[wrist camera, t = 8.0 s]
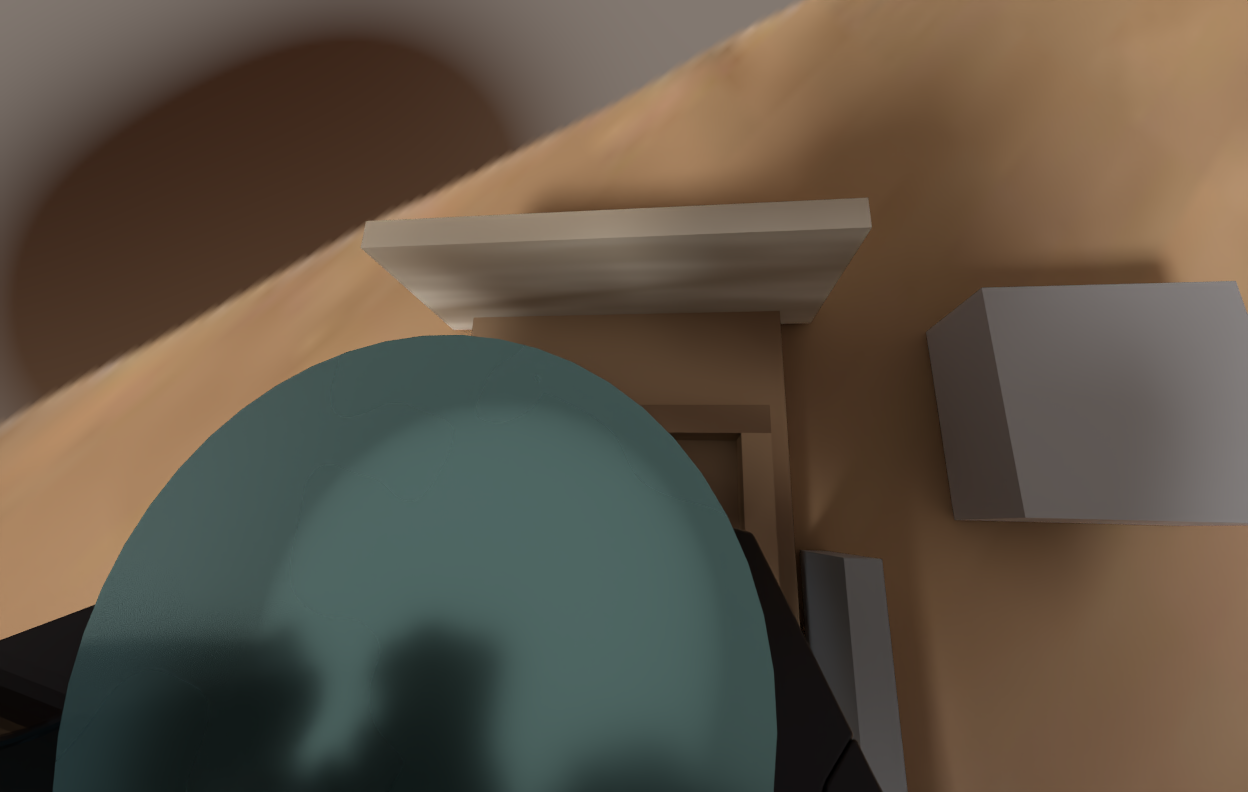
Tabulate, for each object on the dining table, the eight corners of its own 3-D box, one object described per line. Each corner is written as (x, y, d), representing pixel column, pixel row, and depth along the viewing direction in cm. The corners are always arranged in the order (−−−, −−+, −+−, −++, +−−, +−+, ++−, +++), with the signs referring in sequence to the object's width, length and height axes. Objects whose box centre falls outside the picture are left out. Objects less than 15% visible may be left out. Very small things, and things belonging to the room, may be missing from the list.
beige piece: (845, 743, 13) (955, 886, 8) (402, 708, 14) (248, 809, 9) (808, 301, 16) (868, 197, 11) (456, 309, 18) (366, 221, 13)
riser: (1183, 525, 13) (1321, 524, 10) (954, 519, 14) (1025, 517, 11) (1129, 328, 15) (1235, 281, 12) (926, 332, 16) (981, 287, 13)
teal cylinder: (729, 637, 12) (928, 1056, 2) (542, 698, 12) (27, 1330, 3) (665, 451, 13) (633, 254, 4) (498, 506, 14) (69, 447, 4)
